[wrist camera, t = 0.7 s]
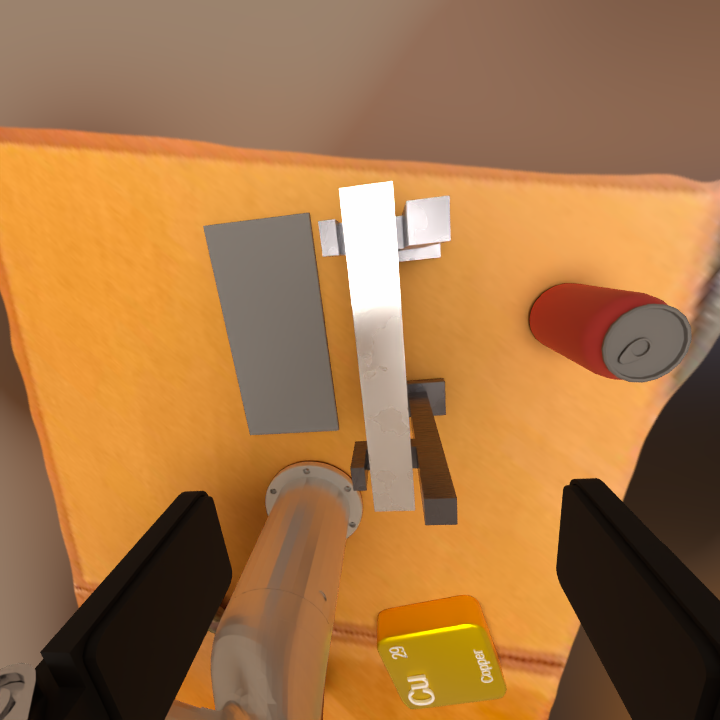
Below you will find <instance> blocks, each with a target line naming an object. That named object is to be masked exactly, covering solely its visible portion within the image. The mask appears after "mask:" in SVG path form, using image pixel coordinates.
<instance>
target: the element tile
mask: <svg viewBox="0 0 720 720" xmlns="http://www.w3.org/2000/svg"><path fill="white" fill-rule="evenodd" d="M377 650H378V652H379V654H380V656H381V659H382V661H383V663H384V665H385V667H386V669H387V671H388V673H389V675H390V677H391V679H392V681H393V683H394V685H395V687H396V689H397V691H398V693H399V695H400V698H401V700H402V701H403V703H404V704H405V705H406V706H408V707H409V708H410V709H423V708H431V707H439V706H447V705H454V704H462V703H470V702H478V701H486V700H493V699H499V698H502V697H503V696H504V695H505V693H506V690H507V689H506V683H505V680H504V676H503V672H502V669H501V665H500V662H499V658H498V655H497V652H496V649H495V646H494V643H493V641H492V638H491V635H490V632H489V629H488V627H487V624H486V621H485V618H484V615H483V612H482V610H481V607H480V604H479V603H478V601H477V600H476V599H475V598H474V597H471V596H467V595H460V596H454V597H449V598H444V599H438V600H433V601H427V602H422V603H417V604H411V605H406V606H401V607H395V608H390V609H386V610H383V611H382V612H380V613H379V615H378V622H377Z"/></svg>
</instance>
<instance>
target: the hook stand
mask: <svg viewBox="0 0 720 720" xmlns="http://www.w3.org/2000/svg"><path fill="white" fill-rule="evenodd" d="M395 222H396V237H397V252H398V262H401V261H410V260H419V259H428V258H438V257H441V253H440V243H444V242H447V241H451V237H450V196H442V197H434V198H426V199H418V200H410V201H406V204H405V207H404V210H403V213H402V216H396V217H395ZM318 224H319V231H320V239H321V247H322V254H323V257H333V256H342V255H346V248H345V239H344V230H343V223H340V222H338V221H337V220H335V219H332V220H324V221H318ZM406 383H407V398H408V412H409V417H411V424H412V432H413V439H410V442H411V456H412V468H418V475H419V482H420V490H421V497H422V504H423V511H424V519H425V525H456V524H457V497H456V494H455V490H454V487H453V483H452V479H451V476H450V472H449V469H448V465H447V462H446V458H445V455H444V451H443V448H442V444H441V441H440V437H439V434H438V430H437V427H436V423H435V420H434V416H435V415H446V406H445V381H444V379H443V378H442V379H427V380H413V381H406ZM368 470H370V464H369V455H368V446H367V441H357V442H355V446H354V451H353V457H352V463H351V476H352V483H353V491H366V490H367V481H368Z"/></svg>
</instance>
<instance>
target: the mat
mask: <svg viewBox="0 0 720 720" xmlns="http://www.w3.org/2000/svg"><path fill="white" fill-rule="evenodd" d="M203 227H204V232H205V236H206V241H207V245H208V250H209V254H210V258H211V263H212V267H213V272H214V276H215V281H216V285H217V290H218V294H219V298H220V303H221V307H222V312H223V316H224V321H225V325H226V330H227V334H228V339H229V343H230V347H231V352H232V356H233V361H234V365H235V370H236V374H237V379H238V383H239V387H240V392H241V396H242V401H243V405H244V410H245V414H246V419H247V423H248V427H249V432H250V435H262V434H281V433H300V432H318V431H337V430H339V424H338V417H337V410H336V402H335V395H334V388H333V380H332V373H331V366H330V358H329V351H328V344H327V337H326V329H325V322H324V315H323V307H322V300H321V293H320V285H319V278H318V271H317V264H316V256H315V249H314V242H313V234H312V227H311V220H310V213H303V214H295V215H287V216H279V217H271V218H264V219H256V220H248V221H240V222H232V223H224V224H216V225H208V226H203Z"/></svg>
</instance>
